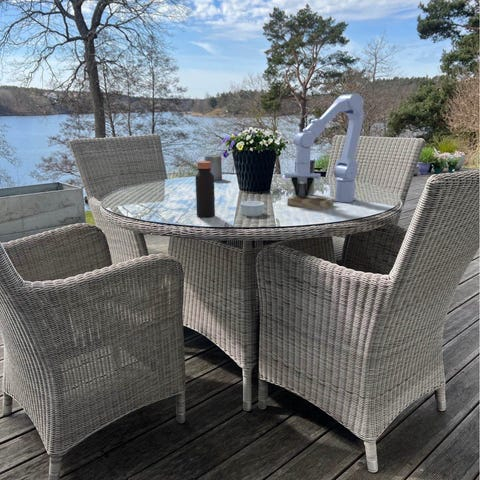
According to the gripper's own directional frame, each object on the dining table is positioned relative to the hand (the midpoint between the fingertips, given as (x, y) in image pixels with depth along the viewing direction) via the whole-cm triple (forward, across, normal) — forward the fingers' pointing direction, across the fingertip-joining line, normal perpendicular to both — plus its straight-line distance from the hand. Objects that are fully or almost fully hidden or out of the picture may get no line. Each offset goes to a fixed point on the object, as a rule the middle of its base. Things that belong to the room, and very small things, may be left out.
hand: (301, 195), depth 176 cm
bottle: (+4, +35, +26) cm, 44 cm away
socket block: (+4, -4, +2) cm, 5 cm away
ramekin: (+4, +18, +20) cm, 28 cm away
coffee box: (+4, -1, -21) cm, 21 cm away
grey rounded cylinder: (+3, 0, 0) cm, 3 cm away
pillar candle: (+4, +52, -64) cm, 82 cm away
